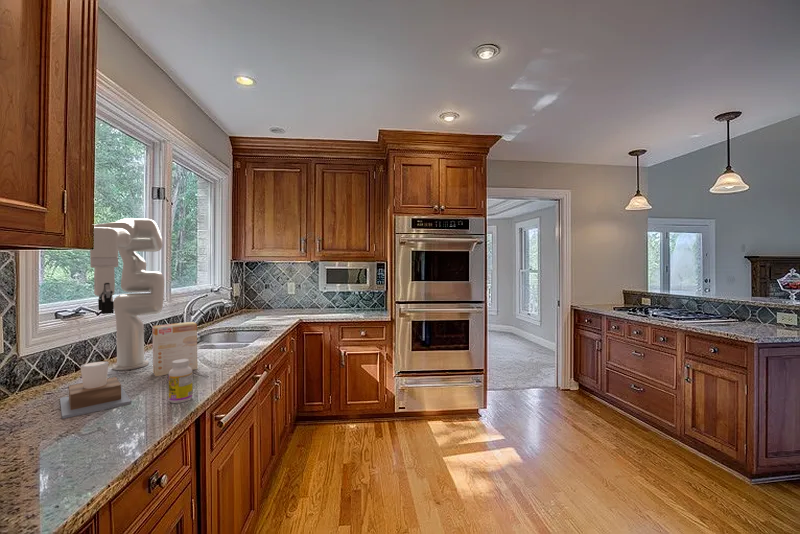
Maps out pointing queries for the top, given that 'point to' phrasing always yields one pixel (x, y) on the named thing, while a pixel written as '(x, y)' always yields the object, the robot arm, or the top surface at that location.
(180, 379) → the supplement bottle
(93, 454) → the top surface
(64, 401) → the slate gray board
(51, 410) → the top surface
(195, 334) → the coffeecake box
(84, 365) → the white tapered cup
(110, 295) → the robot arm
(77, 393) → the walnut plinth
